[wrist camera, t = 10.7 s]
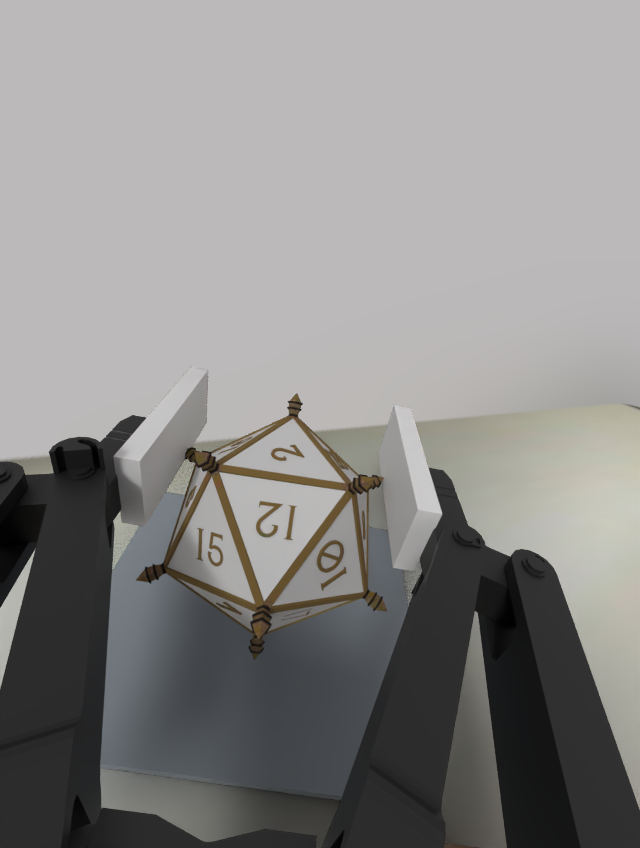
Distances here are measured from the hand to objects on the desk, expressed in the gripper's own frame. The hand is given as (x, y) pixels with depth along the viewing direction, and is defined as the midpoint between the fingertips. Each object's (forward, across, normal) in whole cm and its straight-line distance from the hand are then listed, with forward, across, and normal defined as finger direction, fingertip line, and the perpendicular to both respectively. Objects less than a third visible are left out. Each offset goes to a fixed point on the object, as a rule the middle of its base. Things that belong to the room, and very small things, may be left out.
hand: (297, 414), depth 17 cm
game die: (-5, 0, -6) cm, 8 cm away
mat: (-5, 0, -8) cm, 9 cm away
